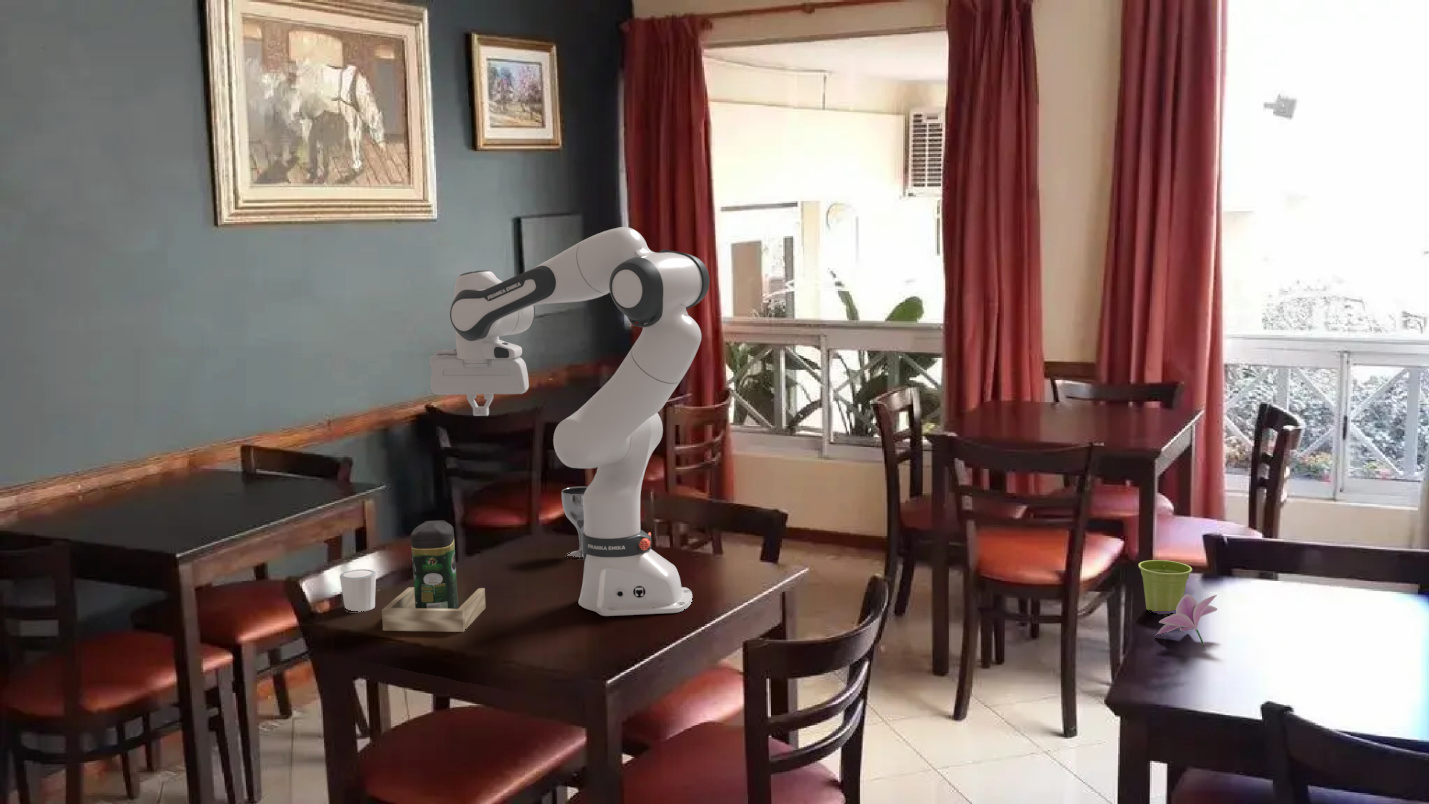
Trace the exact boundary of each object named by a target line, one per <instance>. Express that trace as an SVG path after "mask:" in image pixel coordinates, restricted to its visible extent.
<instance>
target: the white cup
mask: <svg viewBox="0 0 1429 804" xmlns="http://www.w3.org/2000/svg"><path fill="white" fill-rule="evenodd" d="M376 575H377V572H376V571H375V570H373V569H361V568H360V569H353V570H348V571H345V572H342V573H340V575H339V580H340V586H341V593H342V598H343V605H344V609H345V608H346V609H348V610H351V611H358V612H357V613H362V612H363V611H364V612H367V611H370V610H372V609H375V607H376V582H377V580H376V579H377V577H376ZM361 611H362V612H361ZM364 612H363V613H364Z"/></svg>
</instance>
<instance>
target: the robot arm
mask: <svg viewBox="0 0 1429 804" xmlns="http://www.w3.org/2000/svg"><path fill="white" fill-rule="evenodd" d="M710 281H711V280H710V273H709V270H708V269H707V267H706V265H705V263H704V261H702V260H701V259H700V258H698V257H696V256H694V255H692V254H690V253H685V252H681V251H675V250H669V249H661V250H660V251H658V252H655V251H653V250H651V249H650V248H649V247H648V245H647V241H646V240H645V238H644V236H642V234H641V233H640V232H639V231H637V230H635V229H633V228H632V227H630V226H629V227H628V226H621V227H616V228H611V229H608V230H604V231H602V232H600V233H599V232H598V233H596V234H594V235H592V236H590V237H587V238H585V239H583V240H581V241H579V242H578V243H576V244H574V245H572V246H570V247H569V248H567V249H565V250H563V251H562V252H560V253H558V254H557V255H554V256H553V257H551V258H549V259H548V260H545V261H543V262H541V263H540V264H538V265H536V266H535V267H533V268H531V269H528V270H527V271H524V272H522V273H520V274H517V275H515V276H513V277H510V278H508V279H506V280H504V281H502V280H501V279H499V278H498V277H497V276H496V275H495V274H494V272H492V271H490V270H485V269H484V270H483V269H481V270H475V271H468V272H464V273H461V274H460V275H459V276H457V277H456V279H455V284H454V290H453V291H454V292H453V301H452V303H451V306H450V311H449V318H450V322H451V325H452V327H453V329H454V330H455V348H456V349H444V350H443V349H437V350H436V351H434V352H432V353H431V355H430V356H429V366H430V368H431V374H430V390H431V392H432V393H433V394H434V395H466V400H467V401H468V404H469V405H470V407H471V408H472V415H473V416H474V417H475V416H476V417H477V416H478V417H479V416H480V417H481V416H482V417H483V416H485V417H488V416H489V415H490V408H489V407H490V406H491V403H492V402H493V400H494V395H523V394H524V393H526V392H527V391H528V390H529V388H530V383H529V375H528V374H529V372H528V369H527V364H526V362H525V360H524V359H523V358H522V357H521V356H522V355H523V348H522V346H520V345H518V344H515V343H511V342H507V341H504V340H502V339H500V337H505V336H513V335H517V334H521V333H524V332H526V331H528V330H529V329H530V328H531V327H532V326H533V323H534V321H535V317H536V306H539V305H547V304H561V303H563V304H565V303H578V302H584V301H590V300H594V299H599V298H601V297H603V296H605V295H608V294H610V296H611V298H612V301H613V303H614V305H615V306H616V308H617V309H618V310H619V311H620V312H621V313H622V314H623V315H625V316H626V318H628V321H629V322H630V324H632V325H633V326H635V327H638V328H642V330H641V332H640V335H639V336H638V338H637V339H636V340H635V343H634V344H633V345H632V347H631V348H630V350H629V351H628V353H627V355H626V356H625V358H624V359H623V360H622V362H621V364H620V365H619V367H618V368H617V369H616V371H615V373H614V374H613V375H612V376H611V378H610V379H609V380H607V382H606V383H605V384H604V385H603V386H602V387H601V388H600V389H598V391H597V392H596V393H594V395H592V397H590V398H589V399H588V400H587V401H586V403H584V404H583V405H582V406H581V407H580V408H579V409H577V411H574V413H572V414H571V415H570V416H568V417H566V418H565V419H563V420H562V421H560V422H559V423H558V424H557V426H556V427H555V430H554V433H553V439H552V441H553V442H552V443H553V448H554V452H555V454H556V456H557V458H558V459H559V460H560V462H561V463H562V464H564V465H565V466H566V467H568V468H571V469H596V471H595V474H594V477H593V478H592V481H591V482H590V484H589V485H588V486H586V487H587V489H586V491H585V493H584V497H583V508H584V533H583V534H582V556H583V559H582V560H583V562H584V564H583V565H584V566H583V575H582V576H583V577H582V584H581V585H582V586H581V589H580V594H579V595H580V596H579V598H578V605H579V606H581V607H582V608H584V609H585V610H589V611H593V612H596V613H597V615H598V614H599V615H600V616H603V617H609V616H610V617H611V616H612V617H614V616H634V615H636V616H637V615H655V614H657V615H658V614H659V615H660V614H677V613H680V612H683V611H685V610H686V609H688V608H689V607H690V605H691V604H692V603H691V602H693V600H692V598H693V592H692V590H691V589H689V588H688V587H685V586H684V587H683V586H682V583H681V577H680V575H679V572H678V569H677V567H676V566H675V565H674V564H673V563H671V562H670V561H669V560H667V559H666V558H664V557H663V556H661V555H660V554H659V553H657V552H656V551H655V550H653V549H652V534H651V533H652V532H651V531H650V532H648V533H647V532H645V531H644V530H642V529H641V495H642V494H641V491H642V485H643V480H644V478H645V477H644V476H645V472H646V469H647V467H648V464H649V460H650V458H651V457H652V454H653V453H654V451H655V449H656V448H657V447H658V445H659V444H660V442H661V440H662V438H663V433H664V428H663V427H664V425H663V422H662V419H661V417H660V415H659V412H660V411H661V410H662V409H663V408H664V406H665V405H666V403H667V402H668V400H669V399H670V397H671V396H672V394H673V393H674V392H675V390H676V389H677V387H678V386H679V384H680V383H681V381H682V380H683V378H684V377H685V375H686V374H687V372H688V370H689V369H690V367H691V365H692V363H693V361H694V359H695V357H696V354H697V352H698V350H699V347H700V345H701V342H702V331H701V328H700V326H699V324H698V323H697V322H696V320H695V319H693V317H691V316H690V315H689V313H688V311H687V309H691V308H693V307H694V306H696V305H698V304H699V303H701V302H702V301H703V299H704V298H705V297H706V296H707V294H708V292H709V288H710V283H711V282H710ZM477 395H483V398H484V400H486V401H485V403H484V405H483V406H479V405H478V403H477V401H476V400H475V399H477ZM693 599H694V598H693ZM684 609H685V610H684Z"/></svg>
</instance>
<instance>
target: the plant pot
mask: <svg viewBox="0 0 1429 804" xmlns="http://www.w3.org/2000/svg"><path fill="white" fill-rule="evenodd" d="M1138 568H1139V569H1140V573H1141V576H1142V582H1143V590H1144V591H1143V592H1144V599H1145V600H1144V601H1145V607H1146V609H1145V610H1147V611H1149V610H1152V611H1172V610H1176V607H1177V605H1178V603H1179V601H1180V600H1181V598H1182V597H1183V596H1184V595H1185V592H1186V587H1187V582H1188V579H1189V577H1190V573H1191V572H1192V571H1193V568H1192V567H1191V566H1190V565H1188V564H1185V563H1183V562H1178V561H1173V560H1167V559H1166V560H1165V559H1164V560H1161V559H1152V560H1151V559H1150V560H1143V561H1141V562H1139V563H1138Z"/></svg>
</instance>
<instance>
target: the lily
mask: <svg viewBox="0 0 1429 804" xmlns="http://www.w3.org/2000/svg"><path fill="white" fill-rule="evenodd" d="M1216 597H1217V594H1214V595H1212V596H1210V597H1207V598H1205V599H1203V600H1201V601H1200V602H1197V600H1196V599H1195V597H1194V596H1192V595H1191V594H1189V593H1186V594H1184V596H1183V597H1182V598H1181V600H1180V601H1179V603H1178V605H1177V607H1176V614H1169V616H1168V615H1167V616H1165V617H1164V618H1162V619H1160V620H1159V621H1158V623H1159V624H1164V625H1163V626H1162V627H1161V628H1160V629H1159V630H1158V632H1157V633H1156V634H1155V636H1156V635H1157V634H1162V633H1165V632H1167V633H1170V632H1171V631H1174V630H1176V629H1179V630H1180V631H1181V632H1182V631H1188V630H1191V629H1194V630H1195V632H1196V633H1197V636H1198V638H1199V640H1200V642H1201V645H1202V644H1204V641H1203V638H1202V636H1201V634H1200V632H1199V630H1198V625H1199V622H1200V619H1201V618H1203V616H1207V615H1209V614H1211V613H1214V612H1217V611H1218V608H1217V607H1216V606H1212V605H1210V603H1212V602H1213V601H1214V600H1215V598H1216ZM1191 631H1192V630H1191ZM1165 634H1166V633H1165ZM1204 645H1205V644H1204Z"/></svg>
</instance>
